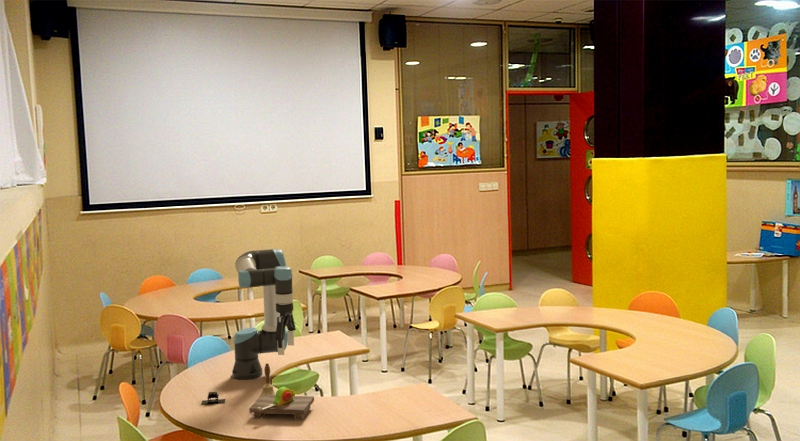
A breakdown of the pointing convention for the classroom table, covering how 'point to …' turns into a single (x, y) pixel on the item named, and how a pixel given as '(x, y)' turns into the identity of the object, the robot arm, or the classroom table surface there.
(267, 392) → the hand bell
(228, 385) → the classroom table surface
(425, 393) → the classroom table surface
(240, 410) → the classroom table surface
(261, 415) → the walnut stand
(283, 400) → the toy measuring tape
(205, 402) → the black arched bracket
